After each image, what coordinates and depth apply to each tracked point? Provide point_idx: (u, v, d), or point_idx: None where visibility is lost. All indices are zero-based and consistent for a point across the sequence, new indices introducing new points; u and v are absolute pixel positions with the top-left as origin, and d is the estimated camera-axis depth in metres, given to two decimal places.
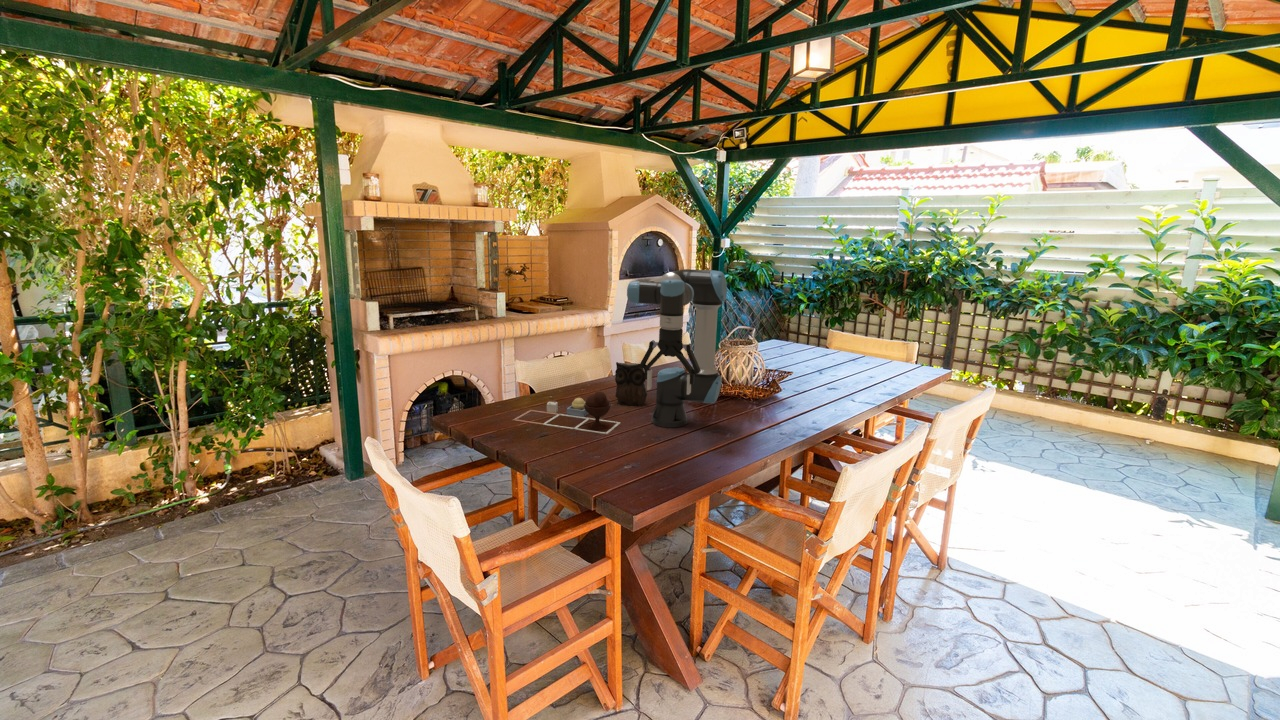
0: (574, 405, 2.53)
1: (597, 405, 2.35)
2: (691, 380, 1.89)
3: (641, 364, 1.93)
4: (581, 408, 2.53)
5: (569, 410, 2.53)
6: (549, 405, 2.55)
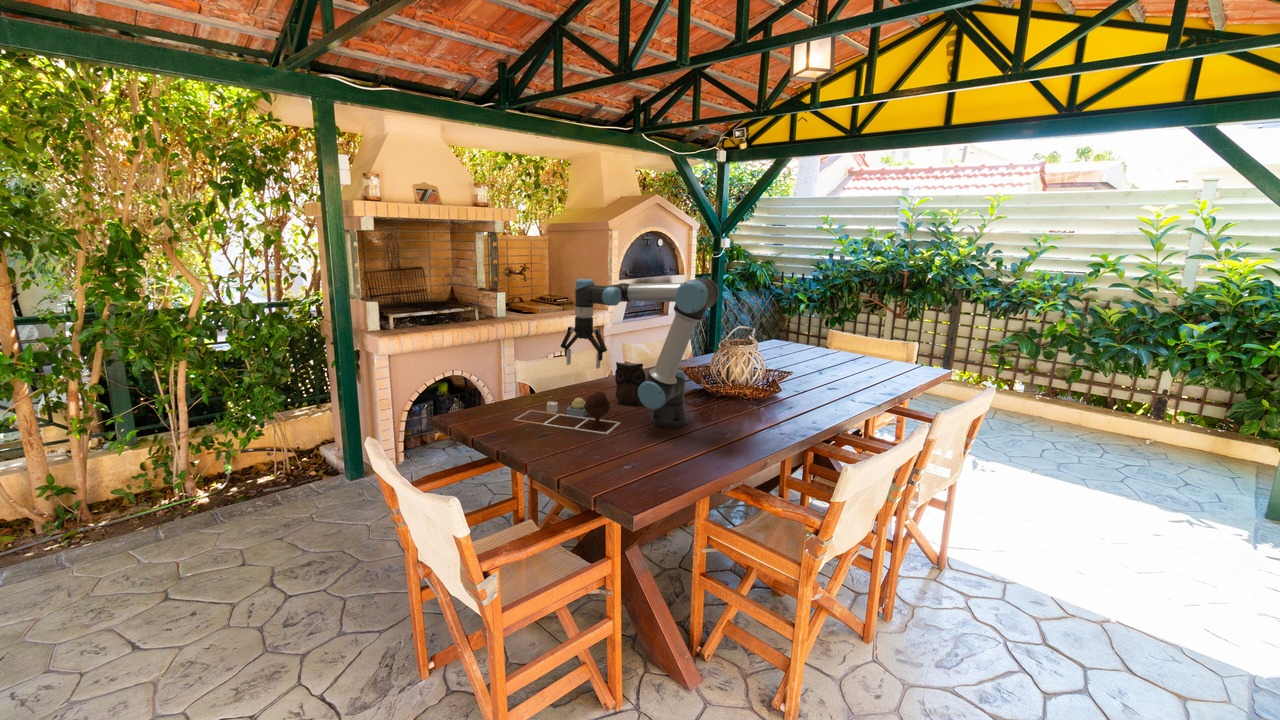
0: (574, 405, 2.53)
1: (597, 405, 2.35)
2: (599, 357, 2.43)
3: (562, 345, 2.47)
4: (581, 408, 2.53)
5: (569, 410, 2.53)
6: (549, 405, 2.55)
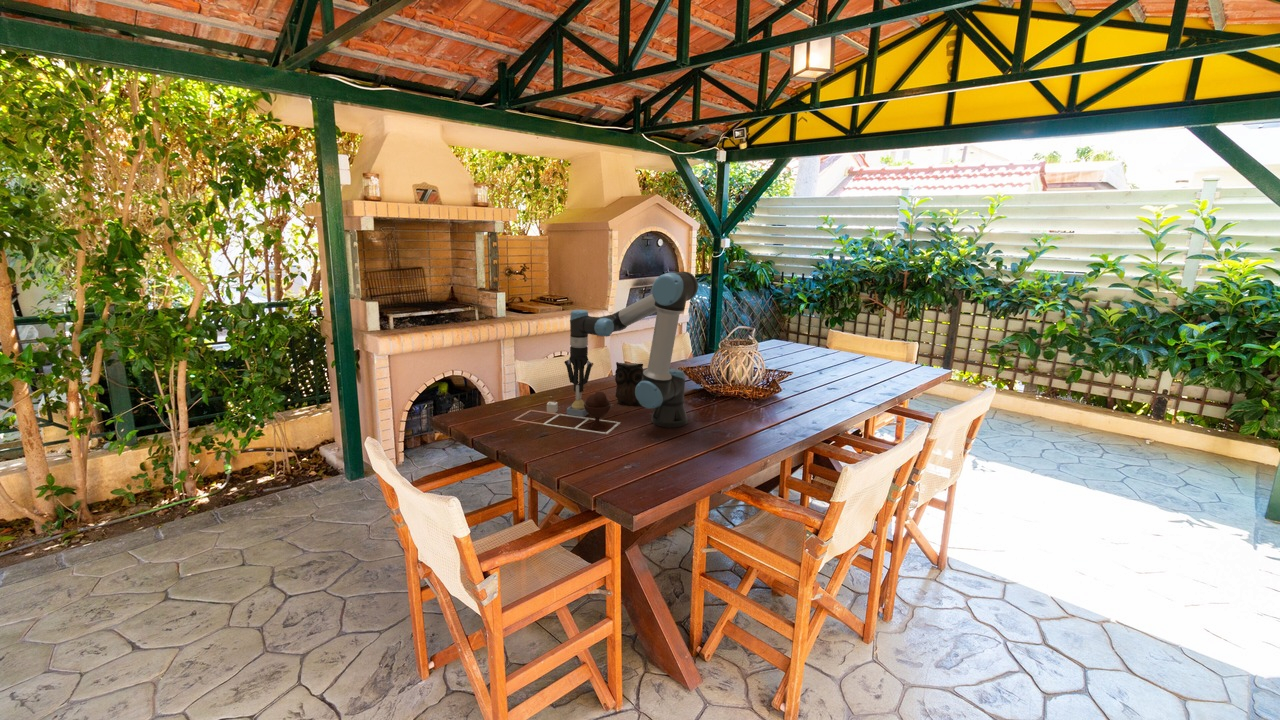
0: (574, 407, 2.53)
1: (597, 405, 2.35)
2: (580, 389, 2.53)
3: (570, 380, 2.53)
4: None
5: (569, 410, 2.53)
6: (549, 405, 2.55)
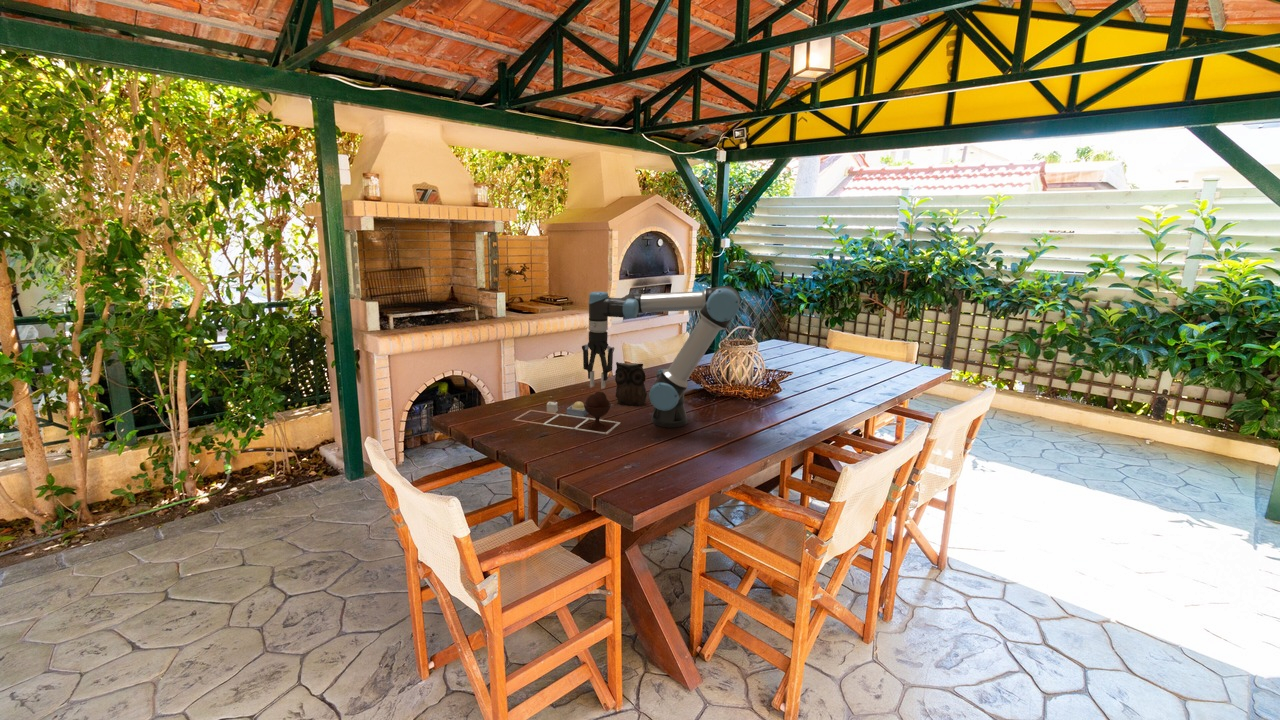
0: None
1: (597, 405, 2.35)
2: (604, 377, 2.34)
3: (584, 366, 2.36)
4: None
5: (569, 410, 2.53)
6: (549, 405, 2.55)
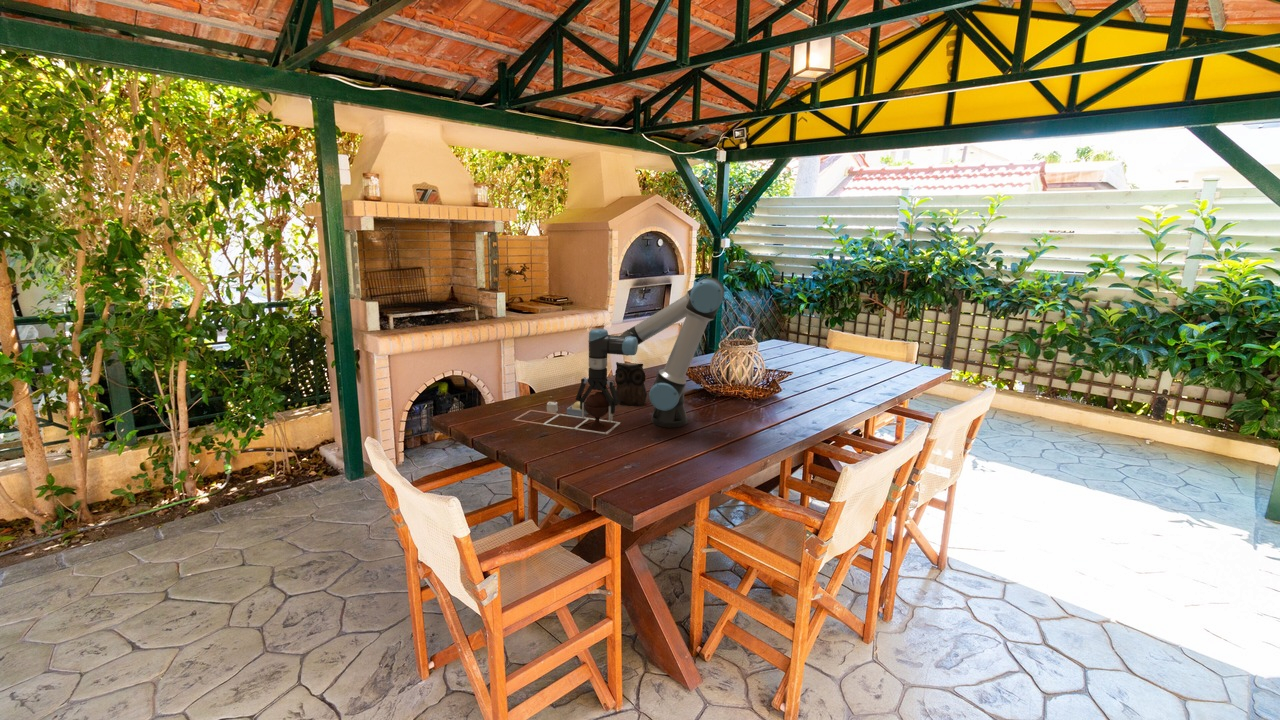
0: None
1: (597, 405, 2.35)
2: (612, 410, 2.36)
3: (577, 397, 2.40)
4: None
5: (569, 410, 2.53)
6: (549, 405, 2.55)
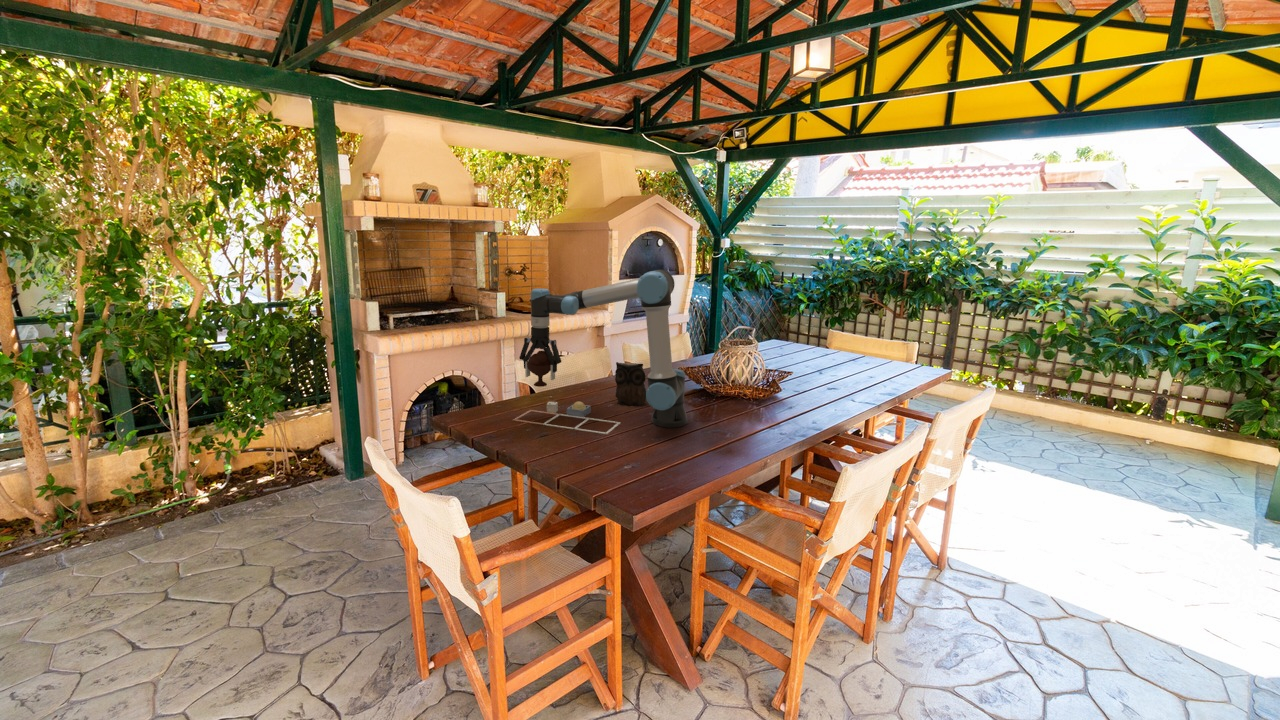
0: None
1: (539, 363, 2.40)
2: (554, 369, 2.41)
3: (520, 356, 2.45)
4: None
5: (569, 410, 2.53)
6: (549, 405, 2.55)
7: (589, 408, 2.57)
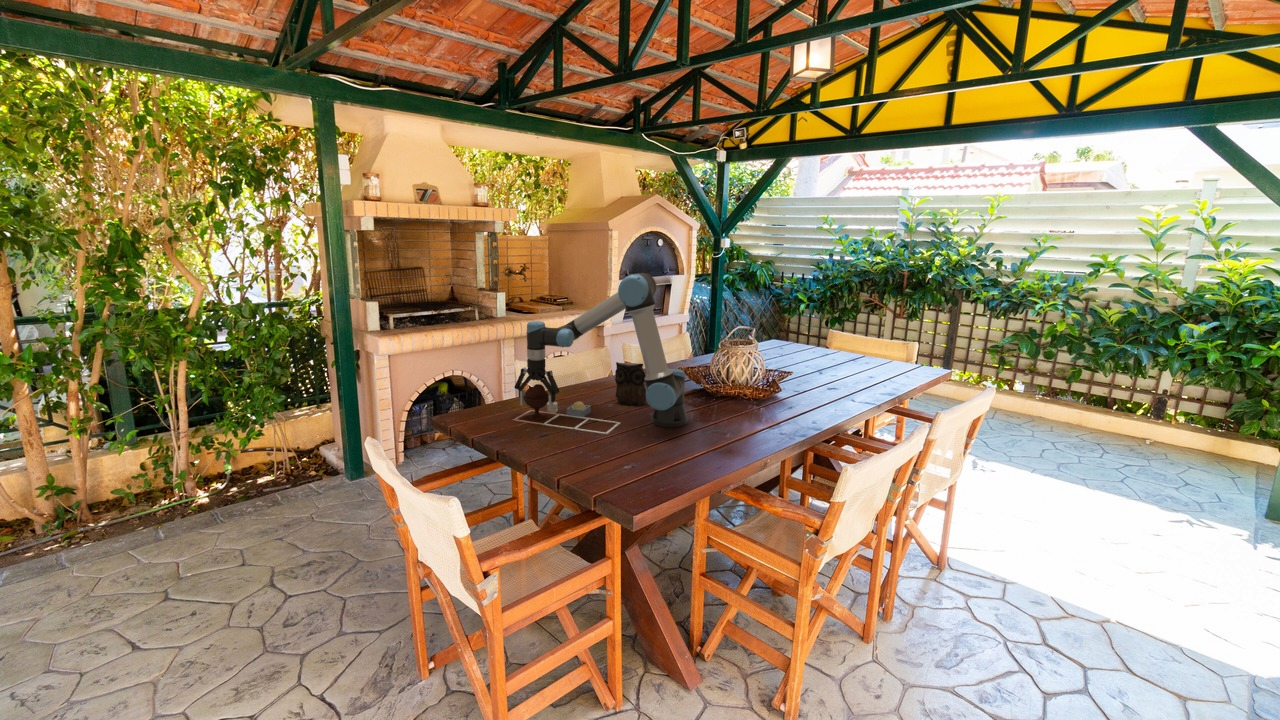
0: None
1: (535, 397, 2.44)
2: (552, 398, 2.44)
3: (515, 386, 2.48)
4: None
5: (569, 410, 2.53)
6: None
7: (589, 408, 2.57)
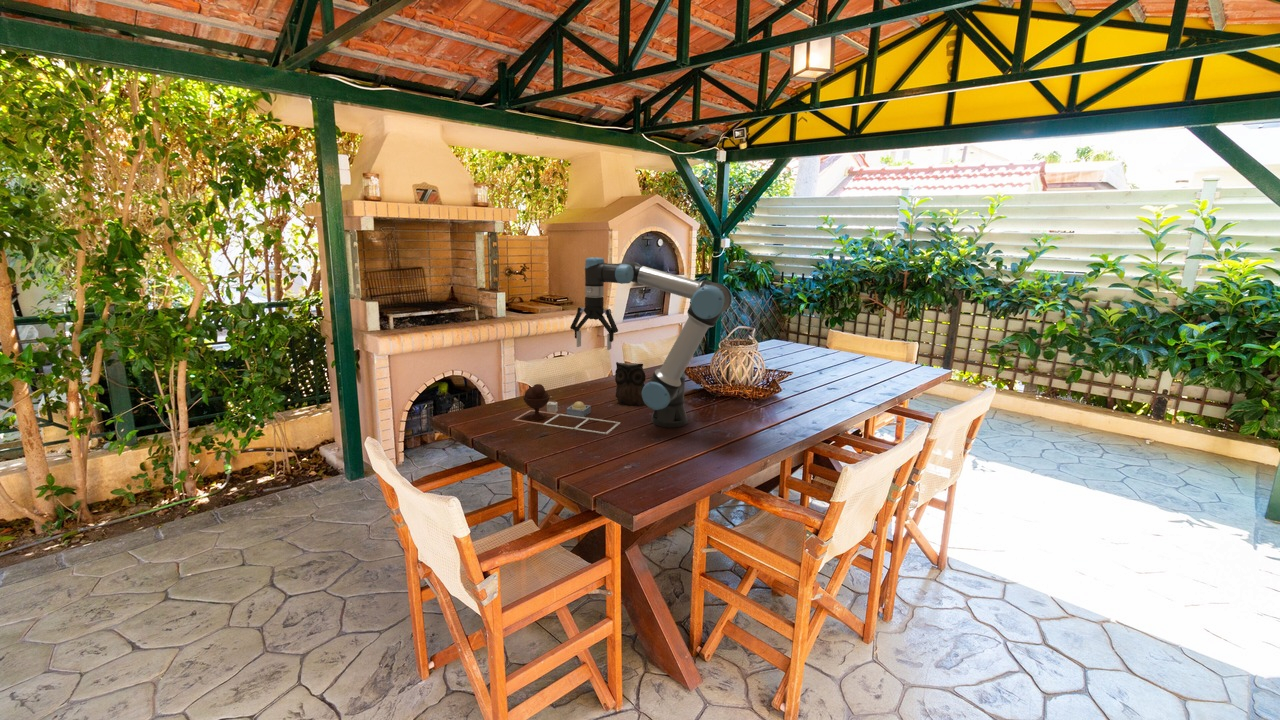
0: None
1: (535, 397, 2.44)
2: (610, 338, 2.35)
3: (571, 326, 2.39)
4: None
5: (569, 410, 2.53)
6: (549, 405, 2.55)
7: (589, 408, 2.57)
